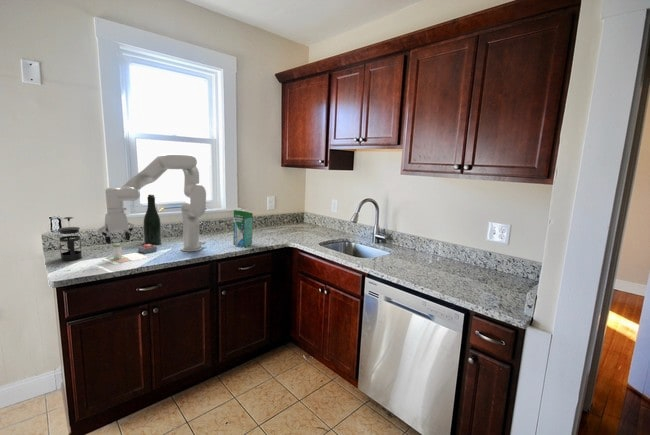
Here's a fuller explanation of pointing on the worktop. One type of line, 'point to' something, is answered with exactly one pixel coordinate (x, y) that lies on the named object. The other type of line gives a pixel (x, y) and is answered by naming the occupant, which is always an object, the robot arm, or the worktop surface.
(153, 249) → the button housing
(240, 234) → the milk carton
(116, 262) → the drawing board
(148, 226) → the green wine bottle
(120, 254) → the translucent whitish cylinder
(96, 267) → the worktop surface
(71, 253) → the french press
